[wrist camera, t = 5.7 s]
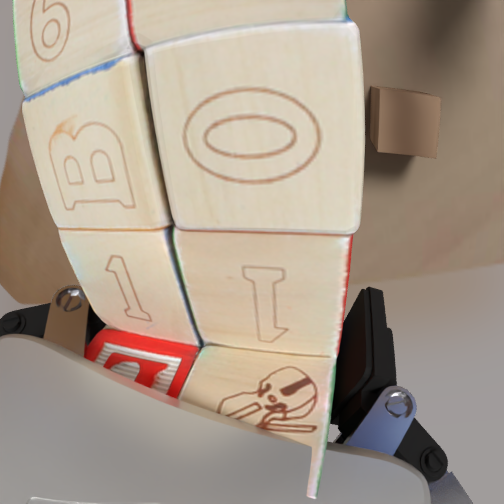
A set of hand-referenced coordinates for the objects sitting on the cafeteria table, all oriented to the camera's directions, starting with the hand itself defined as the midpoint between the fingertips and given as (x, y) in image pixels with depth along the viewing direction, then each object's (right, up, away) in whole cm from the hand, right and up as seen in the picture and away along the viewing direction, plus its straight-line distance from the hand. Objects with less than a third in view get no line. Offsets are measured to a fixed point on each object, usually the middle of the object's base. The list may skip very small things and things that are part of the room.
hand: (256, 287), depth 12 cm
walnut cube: (+13, +14, +12) cm, 22 cm away
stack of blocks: (+1, +3, +4) cm, 5 cm away
